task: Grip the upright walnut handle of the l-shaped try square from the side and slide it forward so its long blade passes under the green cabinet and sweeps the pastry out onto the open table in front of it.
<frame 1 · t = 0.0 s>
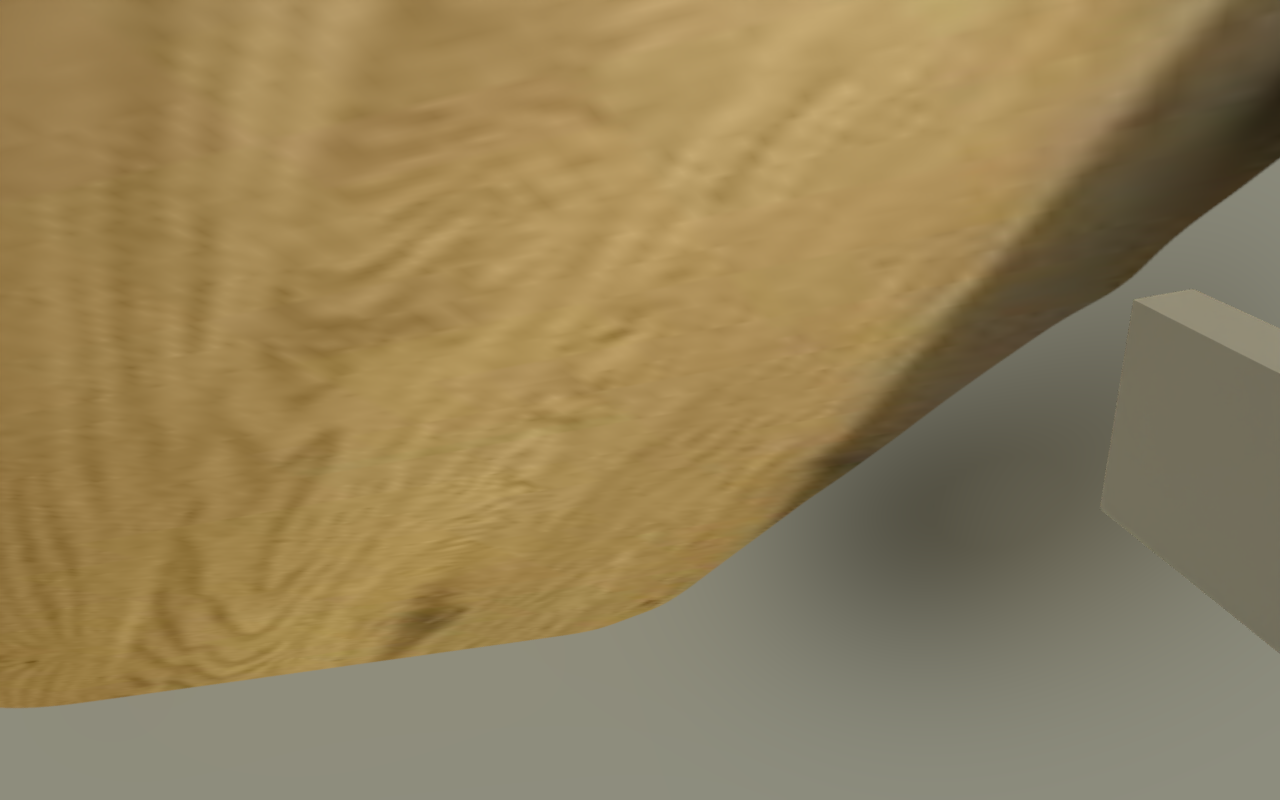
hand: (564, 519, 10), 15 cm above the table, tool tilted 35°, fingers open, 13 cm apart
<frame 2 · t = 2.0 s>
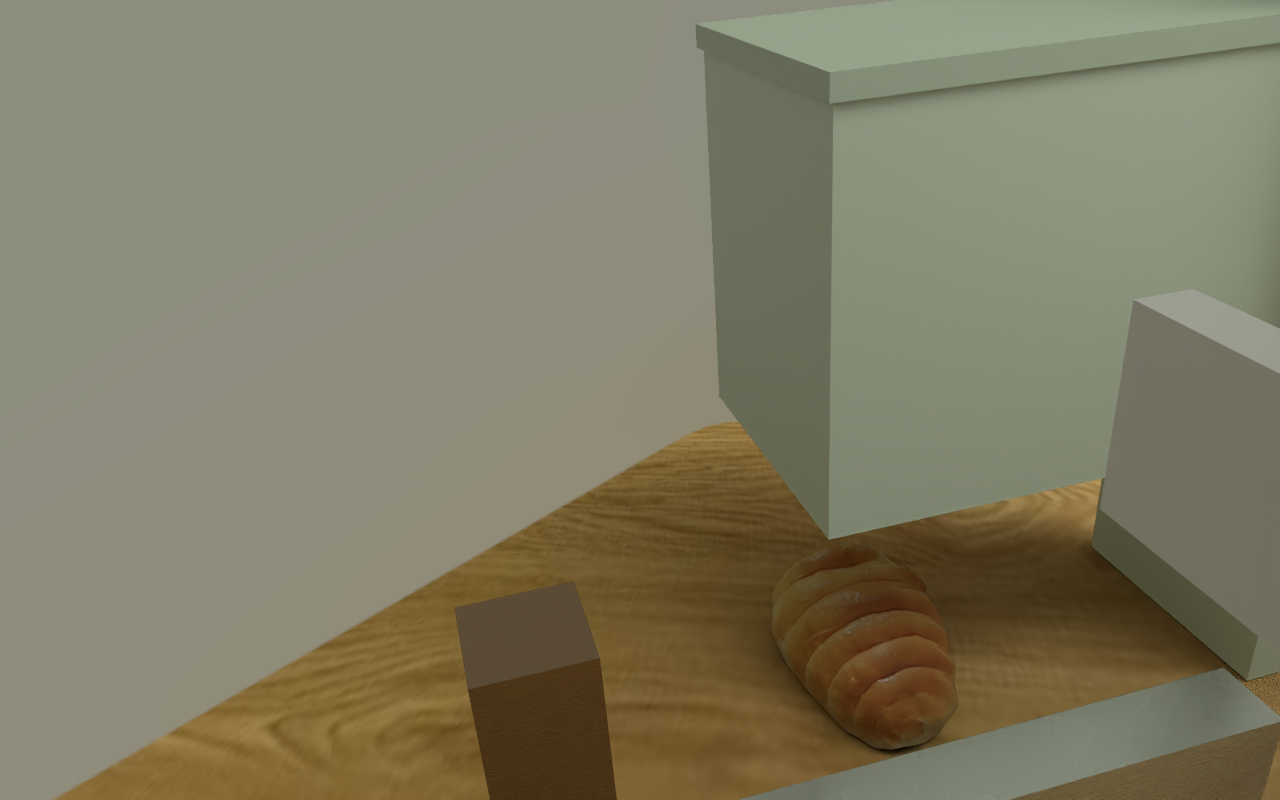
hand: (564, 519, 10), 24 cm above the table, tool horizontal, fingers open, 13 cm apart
green cabinet: (955, 619, 44), on the table
pastry: (866, 665, 43), on the table
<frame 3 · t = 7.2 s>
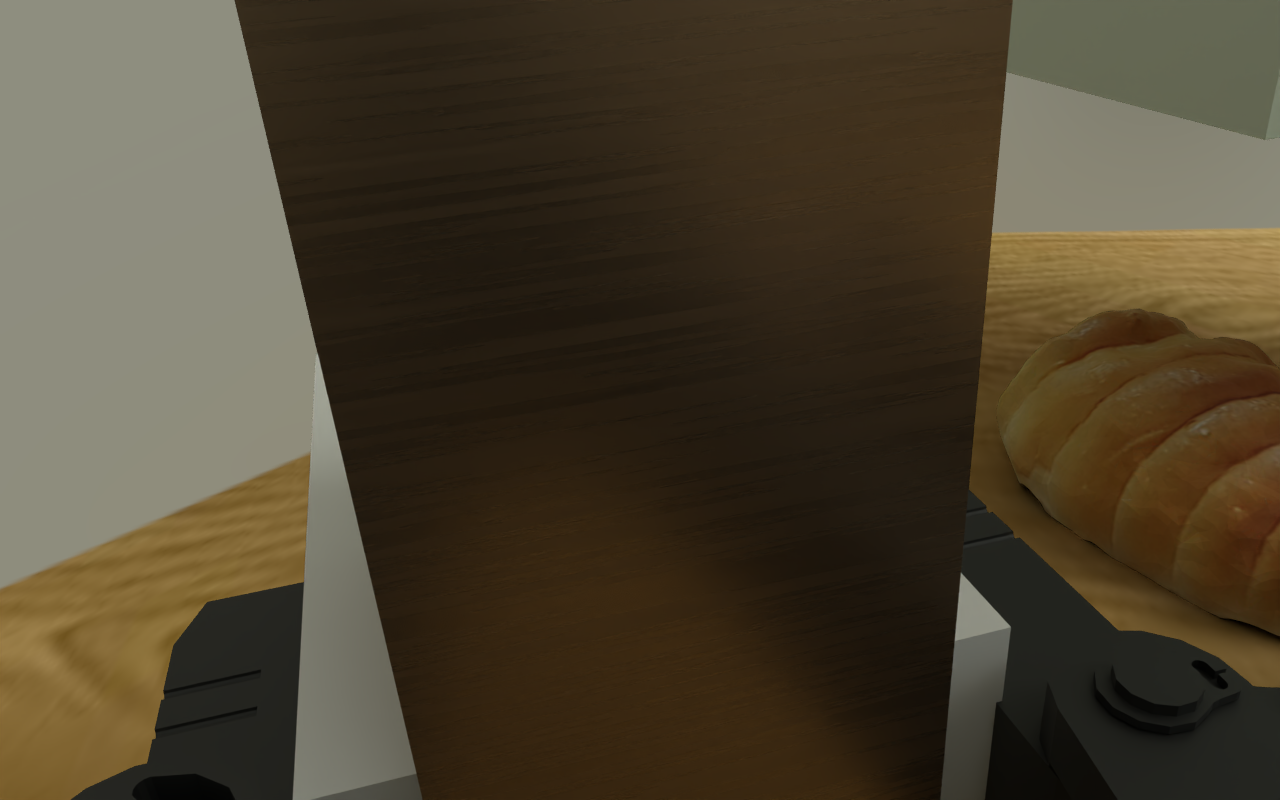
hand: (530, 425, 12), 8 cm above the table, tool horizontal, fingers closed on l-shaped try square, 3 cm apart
pastry: (1184, 516, 24), on the table
when the fingers open (9 cm above the table, at t = 13.2 s): l-shaped try square stays where it is, on the table.
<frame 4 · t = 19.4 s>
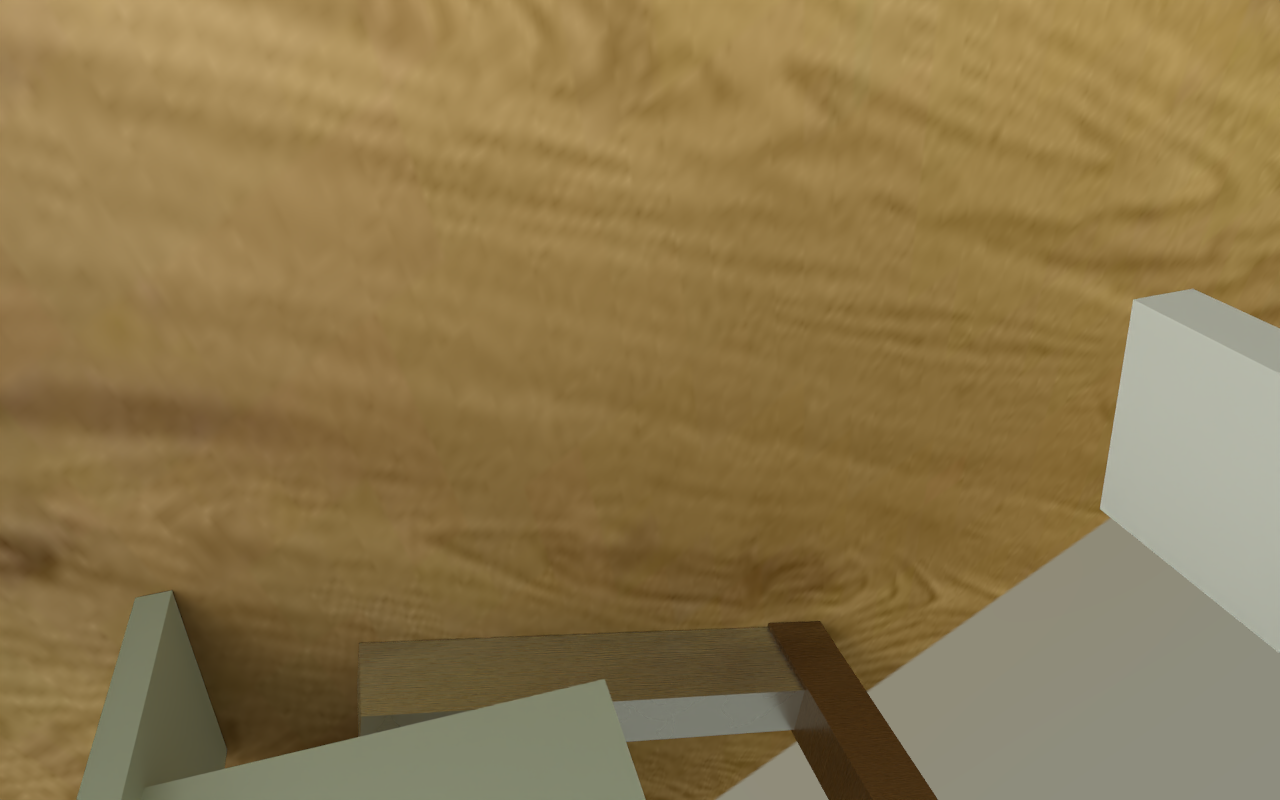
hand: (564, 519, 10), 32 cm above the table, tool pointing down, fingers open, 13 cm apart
green cabinet: (397, 669, 50), on the table
l-shaped try square: (788, 644, 55), on the table
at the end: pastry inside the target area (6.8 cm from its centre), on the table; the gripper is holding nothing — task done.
